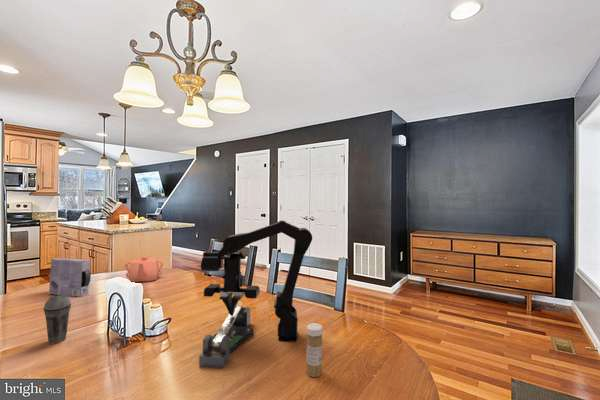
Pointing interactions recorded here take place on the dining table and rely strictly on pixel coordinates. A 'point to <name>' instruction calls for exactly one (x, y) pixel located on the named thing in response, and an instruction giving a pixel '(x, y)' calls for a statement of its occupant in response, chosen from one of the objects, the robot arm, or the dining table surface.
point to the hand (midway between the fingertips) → (231, 315)
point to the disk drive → (236, 337)
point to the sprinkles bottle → (314, 349)
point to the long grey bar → (226, 326)
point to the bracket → (222, 343)
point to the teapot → (143, 269)
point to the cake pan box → (70, 277)
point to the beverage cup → (57, 316)
